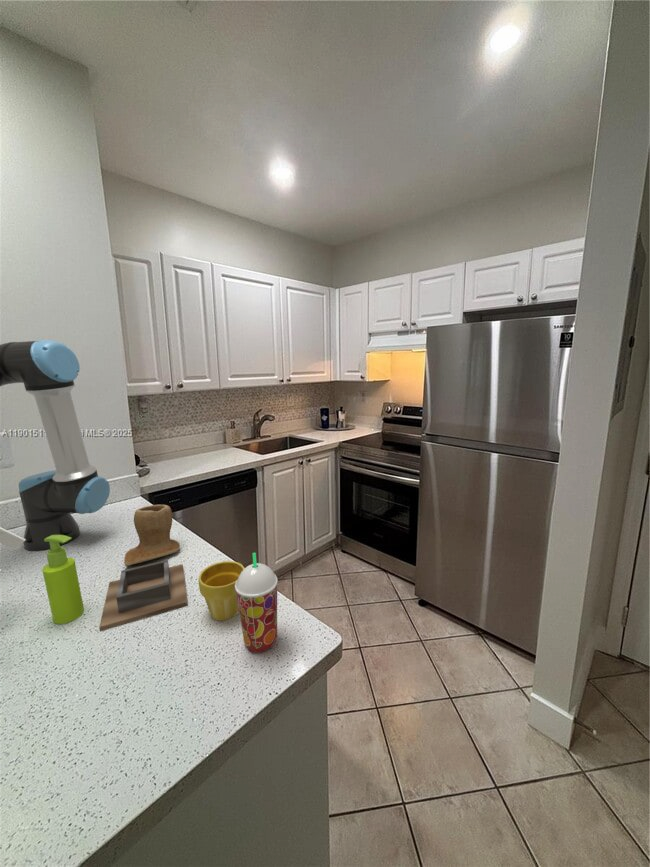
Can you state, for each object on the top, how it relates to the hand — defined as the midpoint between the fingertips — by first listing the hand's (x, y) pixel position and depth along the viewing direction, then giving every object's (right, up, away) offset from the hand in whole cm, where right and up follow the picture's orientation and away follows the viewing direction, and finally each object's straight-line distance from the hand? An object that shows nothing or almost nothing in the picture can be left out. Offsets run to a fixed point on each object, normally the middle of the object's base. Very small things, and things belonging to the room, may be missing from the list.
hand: (9, 559), depth 75 cm
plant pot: (+44, -15, +7) cm, 47 cm away
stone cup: (+14, -11, +33) cm, 38 cm away
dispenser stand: (+22, -14, +14) cm, 30 cm away
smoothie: (+54, -16, -2) cm, 56 cm away
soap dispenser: (+8, -16, +8) cm, 19 cm away
